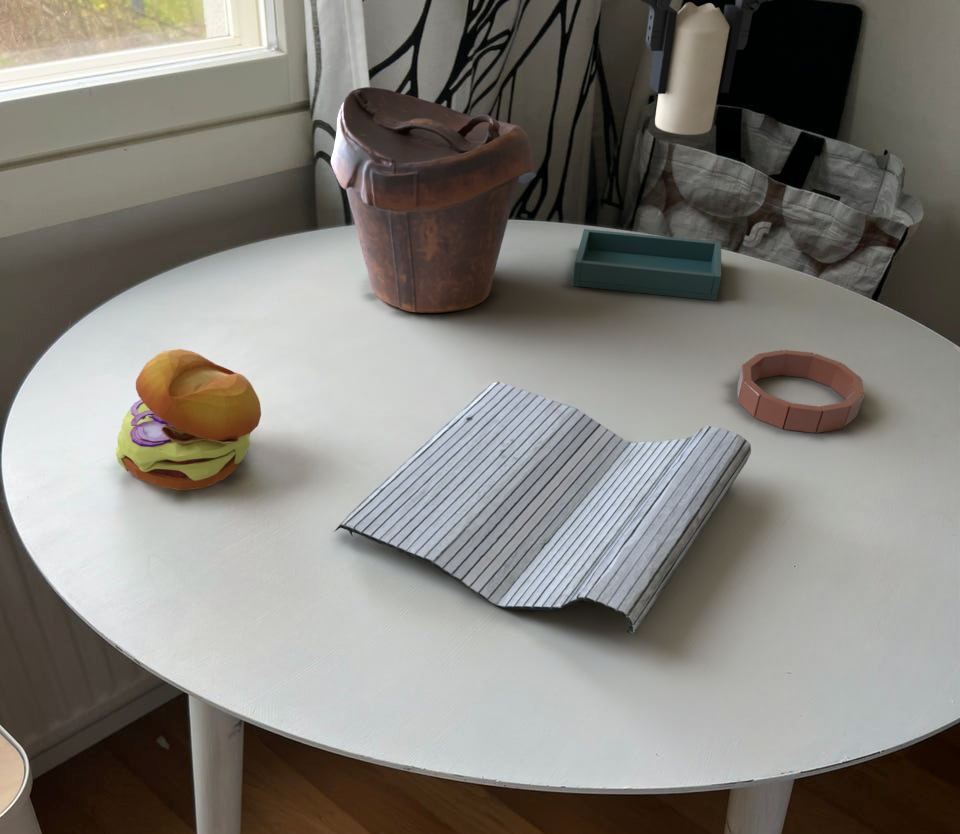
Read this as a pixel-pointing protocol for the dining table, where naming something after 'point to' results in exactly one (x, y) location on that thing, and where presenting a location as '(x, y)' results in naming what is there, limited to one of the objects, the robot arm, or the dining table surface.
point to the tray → (648, 264)
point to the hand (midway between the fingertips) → (688, 88)
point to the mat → (551, 504)
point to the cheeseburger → (187, 422)
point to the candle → (693, 71)
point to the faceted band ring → (799, 414)
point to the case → (428, 195)
